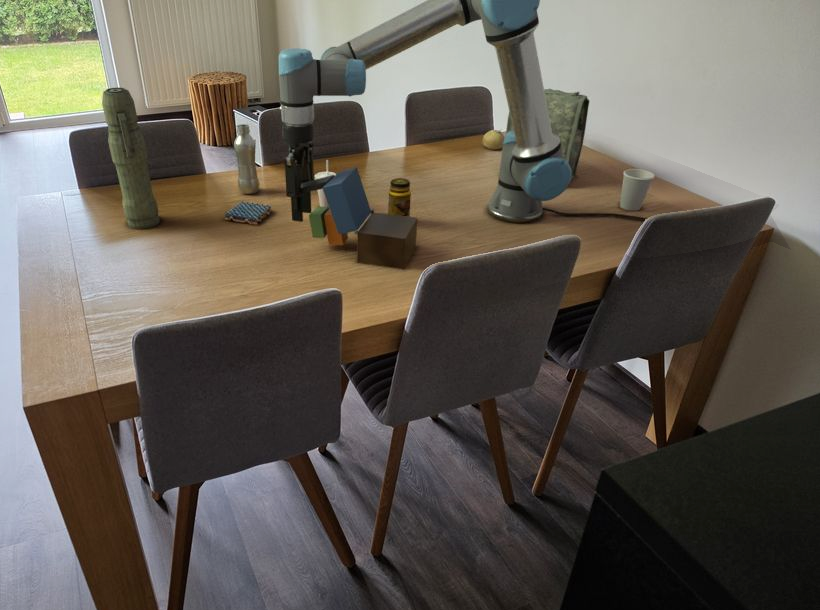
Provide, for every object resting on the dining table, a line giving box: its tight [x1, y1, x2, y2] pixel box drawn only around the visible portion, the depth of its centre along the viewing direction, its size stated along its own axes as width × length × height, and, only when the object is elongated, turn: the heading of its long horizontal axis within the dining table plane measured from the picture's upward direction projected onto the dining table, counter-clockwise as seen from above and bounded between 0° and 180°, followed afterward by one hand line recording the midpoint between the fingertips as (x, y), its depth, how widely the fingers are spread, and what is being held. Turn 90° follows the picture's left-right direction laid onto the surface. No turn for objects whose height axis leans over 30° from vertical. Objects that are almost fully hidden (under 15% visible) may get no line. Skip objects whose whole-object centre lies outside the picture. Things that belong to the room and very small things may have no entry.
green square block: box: [308, 206, 329, 239], centre depth 156 cm, size 3×6×6 cm, turn 162°
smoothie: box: [314, 159, 337, 209], centre depth 176 cm, size 6×6×14 cm
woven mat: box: [224, 200, 273, 226], centre depth 174 cm, size 10×11×2 cm
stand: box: [353, 208, 419, 270], centre depth 152 cm, size 12×14×8 cm
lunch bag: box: [505, 88, 590, 180], centre depth 194 cm, size 22×16×27 cm
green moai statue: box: [101, 87, 161, 230], centre depth 161 cm, size 9×12×35 cm
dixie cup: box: [619, 168, 656, 212], centre depth 177 cm, size 8×8×10 cm
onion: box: [482, 128, 505, 151], centre depth 224 cm, size 8×8×7 cm
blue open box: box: [300, 166, 372, 234], centre depth 152 cm, size 12×12×14 cm
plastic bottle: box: [233, 123, 260, 195], centre depth 184 cm, size 6×7×20 cm
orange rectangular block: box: [324, 209, 349, 246], centre depth 155 cm, size 4×4×8 cm
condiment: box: [387, 177, 412, 217], centre depth 168 cm, size 7×8×12 cm
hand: (301, 216), depth 156 cm, fingers closed on blue open box, 5 cm apart
